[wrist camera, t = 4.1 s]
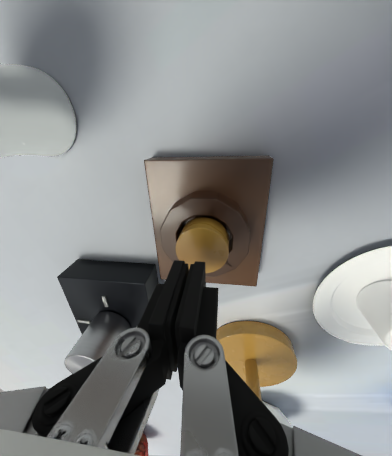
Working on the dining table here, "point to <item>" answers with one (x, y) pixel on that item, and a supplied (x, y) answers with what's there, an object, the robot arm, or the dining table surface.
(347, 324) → the candle holder
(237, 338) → the desk lamp
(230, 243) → the switch block
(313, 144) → the dining table surface
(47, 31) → the dining table surface
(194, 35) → the dining table surface
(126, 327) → the dimmer knob
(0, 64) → the beer glass
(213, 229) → the button
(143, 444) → the pomegranate
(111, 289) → the dimmer panel
